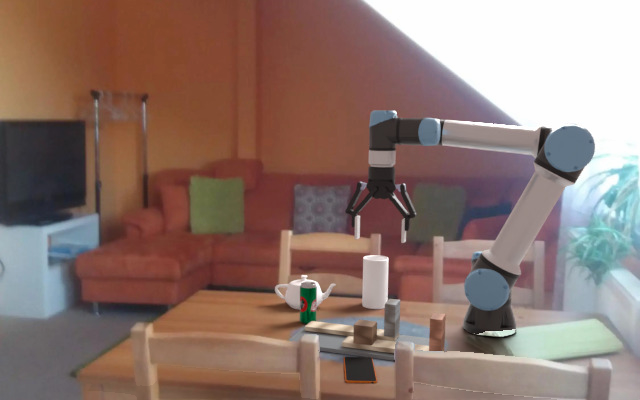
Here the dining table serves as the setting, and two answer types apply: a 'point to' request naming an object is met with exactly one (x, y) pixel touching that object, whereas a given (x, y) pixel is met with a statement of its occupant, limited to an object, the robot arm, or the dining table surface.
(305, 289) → the soda can
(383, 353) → the board
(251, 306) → the dining table surface
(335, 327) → the strip
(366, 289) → the cup
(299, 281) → the teapot
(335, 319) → the dining table surface
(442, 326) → the strip
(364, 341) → the block
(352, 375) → the smartphone
